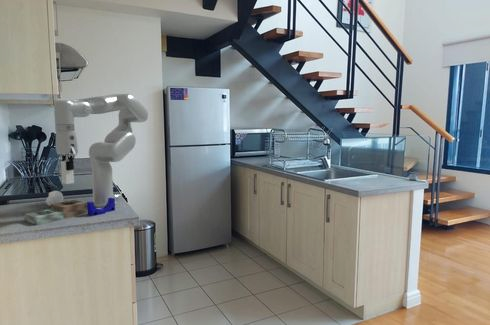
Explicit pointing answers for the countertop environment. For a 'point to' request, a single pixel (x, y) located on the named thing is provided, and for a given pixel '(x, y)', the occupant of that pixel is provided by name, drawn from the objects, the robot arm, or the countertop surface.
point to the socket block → (57, 212)
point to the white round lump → (54, 197)
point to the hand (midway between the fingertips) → (67, 169)
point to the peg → (66, 174)
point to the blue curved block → (94, 211)
